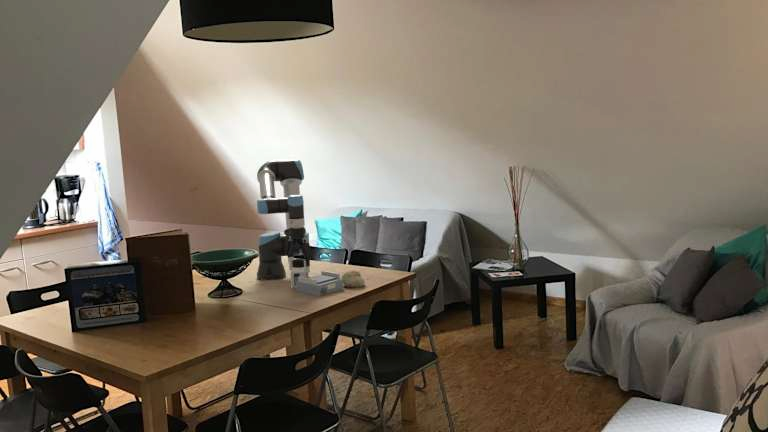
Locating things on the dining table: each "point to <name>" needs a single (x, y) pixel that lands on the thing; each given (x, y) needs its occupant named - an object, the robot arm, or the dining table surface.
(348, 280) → the decorative item
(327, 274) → the grey low rectangular block
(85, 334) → the dining table surface
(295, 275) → the container
